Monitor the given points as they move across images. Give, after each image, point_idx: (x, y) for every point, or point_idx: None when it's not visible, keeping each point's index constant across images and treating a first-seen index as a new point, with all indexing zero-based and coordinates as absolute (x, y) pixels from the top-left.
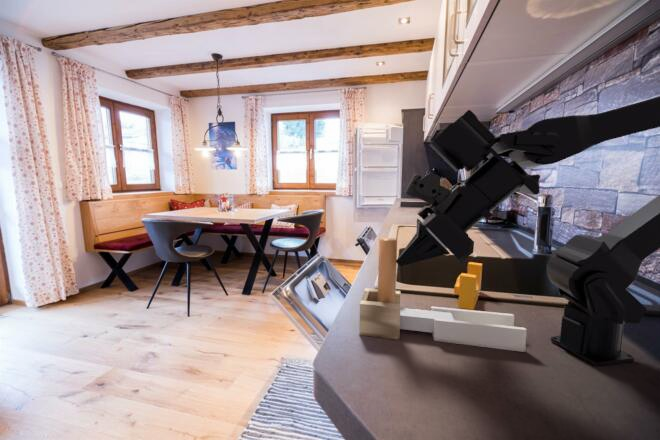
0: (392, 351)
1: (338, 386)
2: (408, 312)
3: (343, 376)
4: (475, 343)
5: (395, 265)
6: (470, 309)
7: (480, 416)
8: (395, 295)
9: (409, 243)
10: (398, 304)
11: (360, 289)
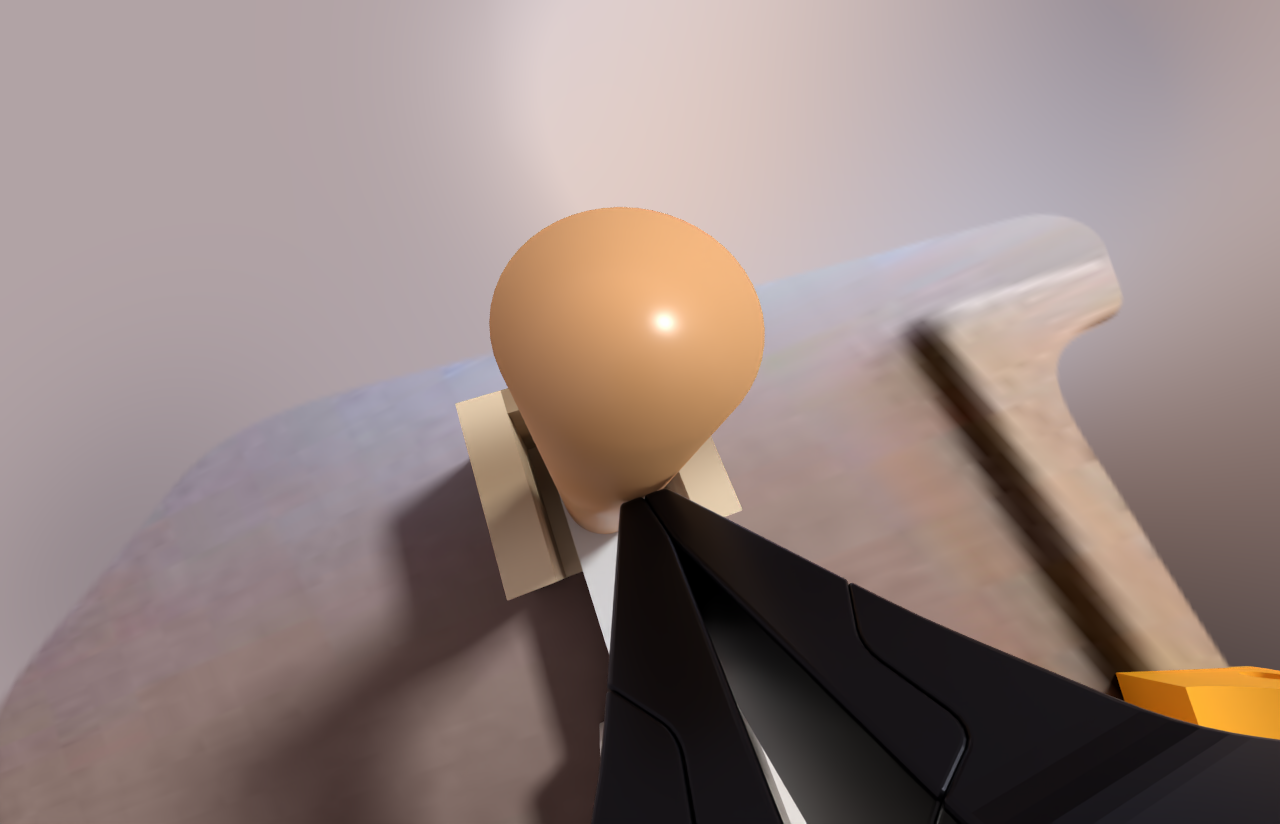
0: (436, 600)
1: (155, 530)
2: None
3: (213, 518)
4: None
5: (607, 504)
6: None
7: None
8: None
9: (783, 626)
10: (546, 574)
11: (866, 278)
